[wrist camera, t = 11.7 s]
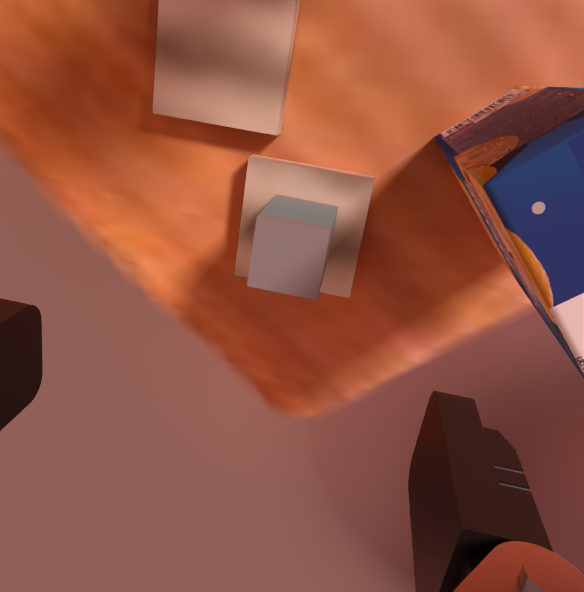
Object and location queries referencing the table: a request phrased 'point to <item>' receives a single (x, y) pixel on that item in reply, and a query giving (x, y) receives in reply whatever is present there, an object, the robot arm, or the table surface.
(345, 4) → the table surface
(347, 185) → the stand
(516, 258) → the blue food carton
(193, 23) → the stand
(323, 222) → the block
